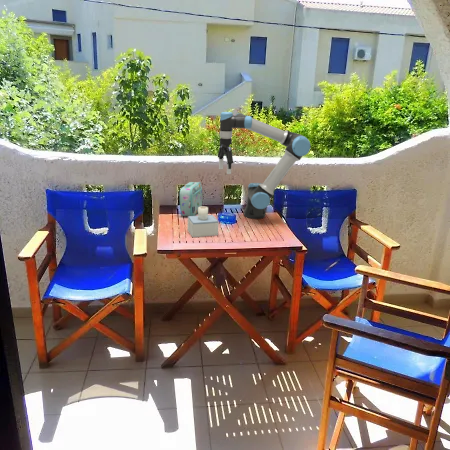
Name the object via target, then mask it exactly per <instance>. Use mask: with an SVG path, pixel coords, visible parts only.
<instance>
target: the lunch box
mask: <svg viewBox="0 0 450 450" xmlns="http://www.w3.org/2000/svg"><path fill="white" fill-rule="evenodd" d="M202 204H203V185H202V182H201V181H197V182H196V181H195V182H194V181H189V182H188V183H186V184H184V186H182V187H181V188H180V190H179V210H180V211H179V212H180V215H181V216H182V217H188V216H197V214H198V207H200V206H203V205H202Z"/></svg>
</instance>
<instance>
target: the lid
mask: <svg viewBox="0 0 450 450" xmlns="http://www.w3.org/2000/svg"><path fill="white" fill-rule="evenodd" d="M188 218H189V220H190V221H191V222H192V224H209V223H219V219H217V218H216V217H215V216H214V215H213V214H208V219H207V220H199V219H198V215H195V216H187V219H188Z"/></svg>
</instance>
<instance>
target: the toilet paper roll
mask: <svg viewBox="0 0 450 450" xmlns="http://www.w3.org/2000/svg"><path fill="white" fill-rule="evenodd" d="M208 215H209V206H205V205H202V206H200V207H198V212H197V216H198V219H199V220H207V219H208Z"/></svg>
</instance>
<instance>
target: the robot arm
mask: <svg viewBox="0 0 450 450" xmlns="http://www.w3.org/2000/svg"><path fill="white" fill-rule="evenodd" d="M219 117H220V119H219V132H218V133H219V137H220V138H219V149H218V153H217V158H218V170H224V159H226V161H227V162H226V175H232V164H234V158H233V151H232V150H233V149H232V146H231V145H232V143H233V139H232V138H233V129H247V130H249V131H252V132H254V133H256V134H259V135H262V136H264V137H265V138H266V137H267V138H269V139H272V140H273V141H277V142H279V144H280V145H282V146H285V148H284V153H283V155H282V156H281V158H280V159H279V160H278V162H277V163H276V165H275V166H274V168H273V169H272V170H271V172H270V173H269V174H268V176H267V177H266V178H265V180H264V181H263V182H262V183H261V182H250V183H249V184H248V185H247V186H248V187H247V199H246V200H247V202H246V206H245V207H244V211H243V216H244V217H245V218H247V219H253V220H258V219H259V220H260V219H261V220H262V219H264V218H265V217H266V208H267V207H268V206H269V205H270V203H271V199H272V198H273V196H274V191H275V190H276V189H277V187H278V185H280V183H281V182H282V180H283V179H284V178H285V176H286V175H287V173H288V172H290V170H291V168H292V167H293V166H294V165H295V163H296V162H298V161H300V160H301V159H302V158H303V157H305V156H306V155H308V154H309V153H310V151H311V142H310V140H309V139H308V138H307V137H306V136H304V135H302V134H300V133H297V132H293V131H290V130H283V129H280V128H278V127H276V126H272V125H270V124H268V123H265V122H263V121H260V120H258V119H255V118H253V116H250V115H246V114H244V113H241V112H238V113H236V114H235V115H234V113H233V111H222V112H220V115H219ZM224 156H225V157H224Z"/></svg>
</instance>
